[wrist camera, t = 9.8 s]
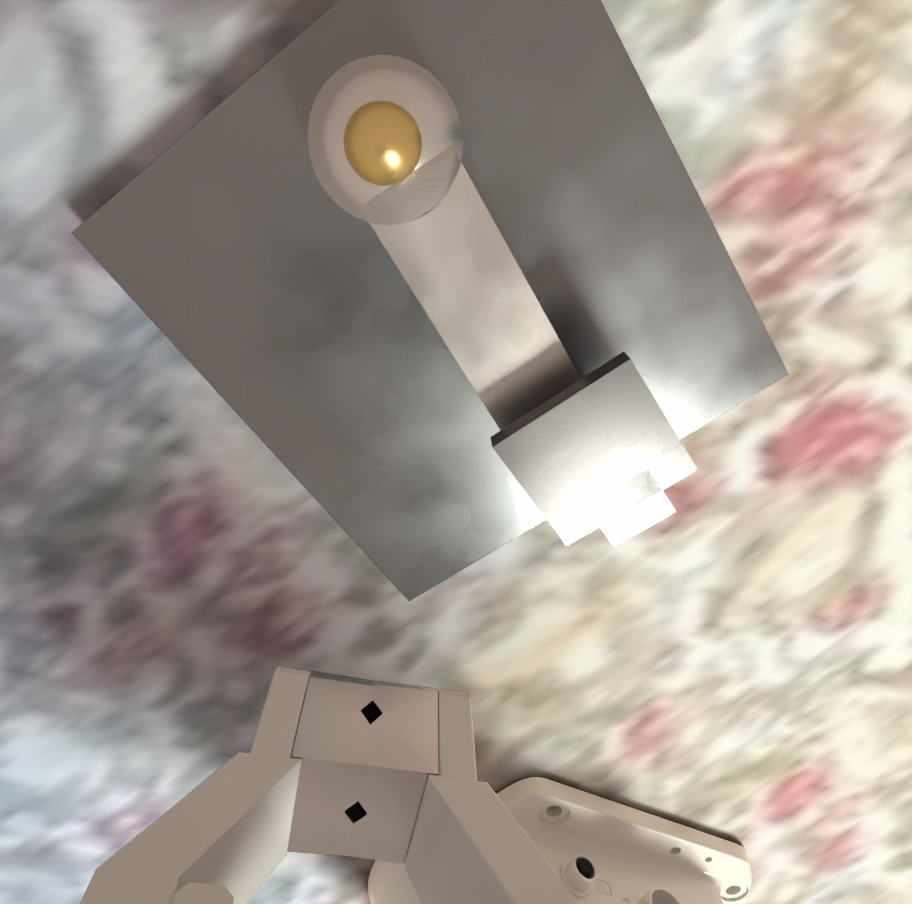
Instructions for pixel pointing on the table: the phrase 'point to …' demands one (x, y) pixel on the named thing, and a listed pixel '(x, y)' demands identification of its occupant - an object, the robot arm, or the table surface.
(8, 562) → the table surface
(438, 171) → the link
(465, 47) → the pintle base
